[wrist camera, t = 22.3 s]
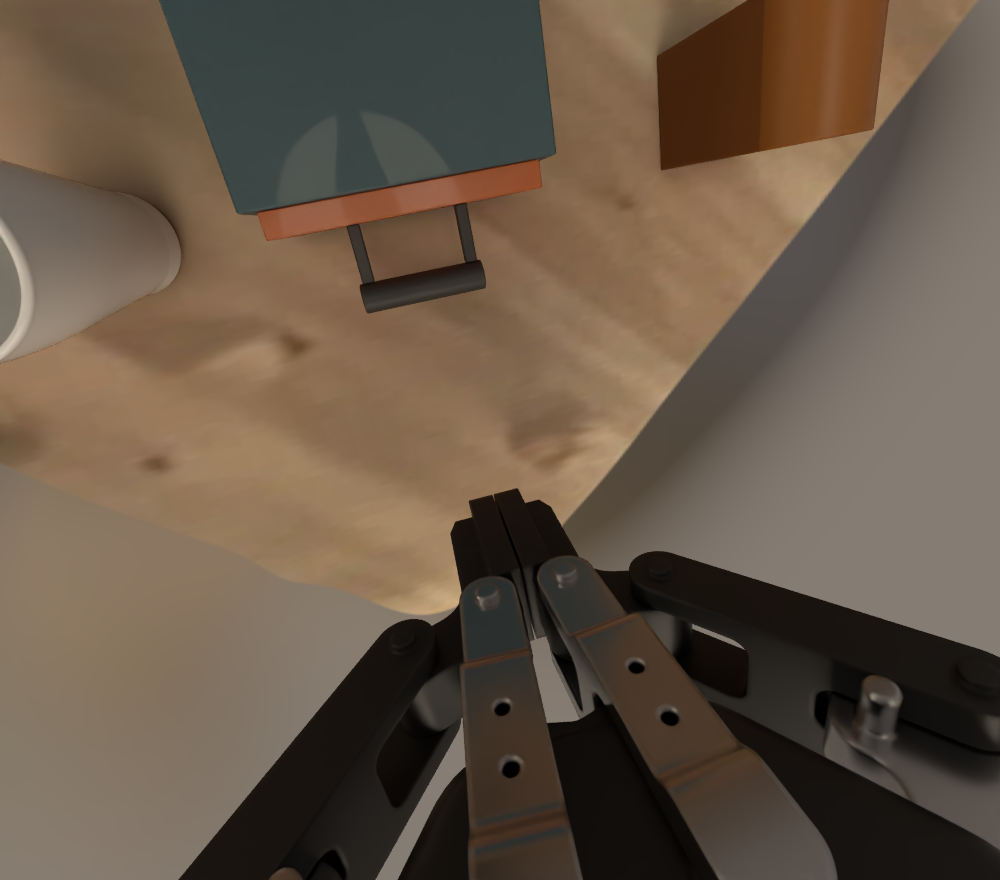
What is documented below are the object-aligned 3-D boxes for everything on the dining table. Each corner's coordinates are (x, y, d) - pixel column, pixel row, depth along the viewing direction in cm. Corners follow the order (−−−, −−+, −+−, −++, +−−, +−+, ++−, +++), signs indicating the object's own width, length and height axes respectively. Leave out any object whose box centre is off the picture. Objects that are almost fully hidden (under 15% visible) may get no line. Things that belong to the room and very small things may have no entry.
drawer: (522, 269, 32) (554, 280, 26) (317, 313, 31) (299, 336, 24) (464, -113, 24) (490, -224, 18) (189, -78, 23) (117, -186, 17)
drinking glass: (193, 187, 28) (5, 154, 14) (204, 312, 30) (53, 386, 17) (47, 166, 26) (-321, 107, 13) (71, 301, 29) (-213, 371, 15)
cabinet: (514, 171, 30) (556, 154, 23) (277, 216, 29) (236, 214, 21) (464, -168, 24) (500, -350, 17) (160, -132, 23) (43, -313, 15)
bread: (656, 56, 30) (810, -40, 19) (735, 42, 30) (928, -58, 19) (661, 170, 32) (798, 144, 21) (733, 156, 33) (903, 123, 22)
